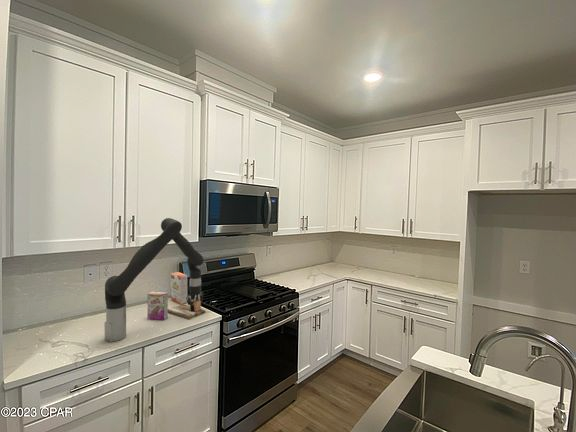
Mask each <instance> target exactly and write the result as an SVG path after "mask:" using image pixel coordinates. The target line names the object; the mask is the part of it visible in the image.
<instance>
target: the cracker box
mask: <svg viewBox="0 0 576 432" xmlns="http://www.w3.org/2000/svg"><path fill="white" fill-rule="evenodd" d="M170 279H171V280H170V281H171V282H170V284H171V285H170V290H171V291H170V293H171V295H170V298H171V301H173V302H174V303H177V304H179V305H182V304H184V305H185V304H188V303H187V300H186V297H188V275H187V274H185V273H182V272H180V271H176V272H175V271H173V272H170Z"/></svg>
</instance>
